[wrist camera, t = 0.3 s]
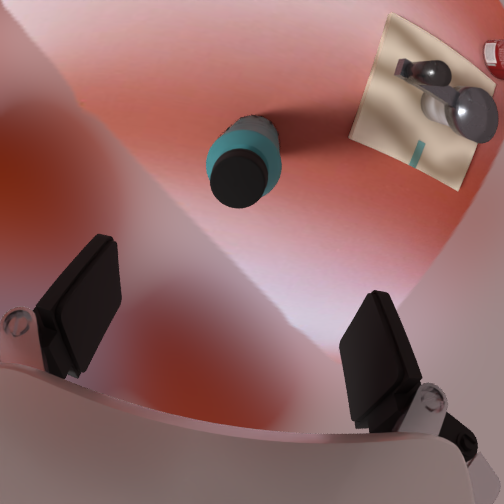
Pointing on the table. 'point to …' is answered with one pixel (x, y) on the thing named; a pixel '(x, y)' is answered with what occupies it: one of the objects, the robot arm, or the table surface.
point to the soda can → (494, 57)
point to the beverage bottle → (244, 162)
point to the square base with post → (415, 105)
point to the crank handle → (453, 98)
